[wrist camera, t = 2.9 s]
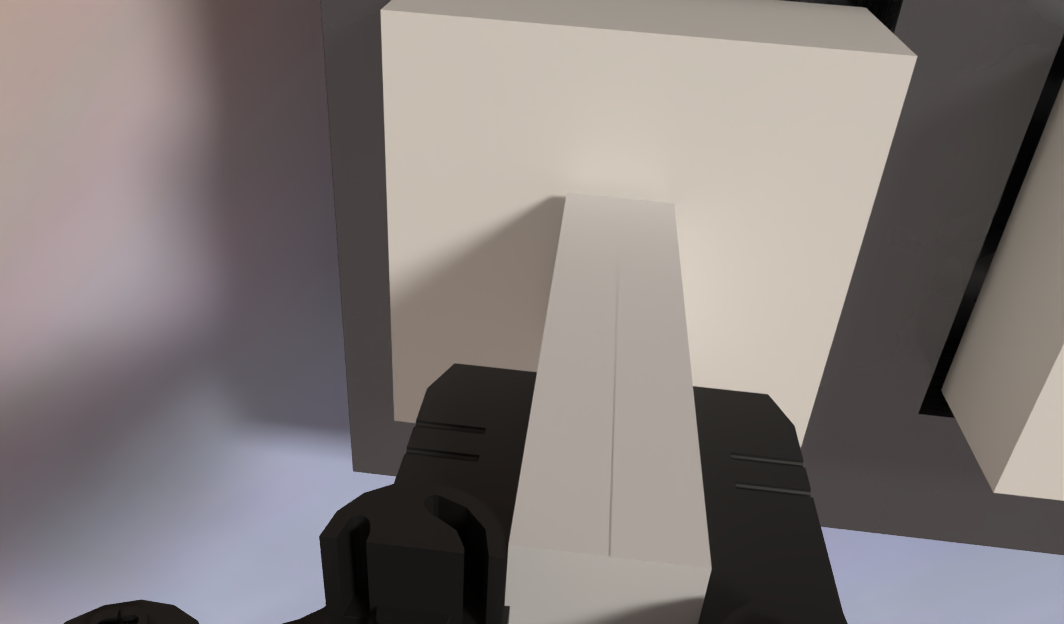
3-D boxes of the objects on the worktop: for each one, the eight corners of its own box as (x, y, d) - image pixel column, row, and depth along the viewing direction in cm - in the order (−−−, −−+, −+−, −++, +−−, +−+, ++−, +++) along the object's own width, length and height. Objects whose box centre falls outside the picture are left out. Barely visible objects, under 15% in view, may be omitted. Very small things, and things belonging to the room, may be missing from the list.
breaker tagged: (425, -30, 13) (380, 9, 11) (865, 8, 13) (917, 55, 11) (427, 332, 17) (394, 420, 15) (772, 369, 16) (795, 466, 14)
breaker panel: (391, -293, 15) (290, -327, 11) (1557, -215, 14) (1981, -218, 10) (405, 344, 23) (349, 481, 18) (1175, 428, 22) (1316, 595, 17)
